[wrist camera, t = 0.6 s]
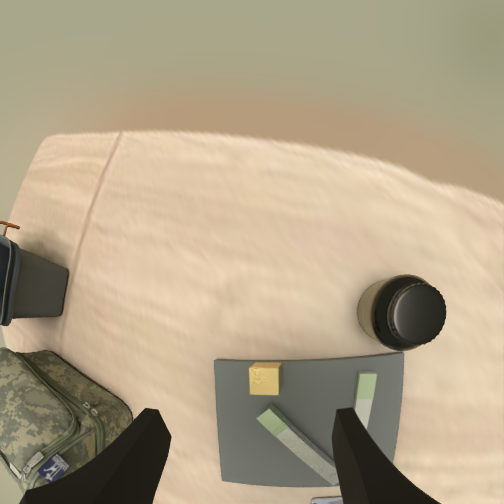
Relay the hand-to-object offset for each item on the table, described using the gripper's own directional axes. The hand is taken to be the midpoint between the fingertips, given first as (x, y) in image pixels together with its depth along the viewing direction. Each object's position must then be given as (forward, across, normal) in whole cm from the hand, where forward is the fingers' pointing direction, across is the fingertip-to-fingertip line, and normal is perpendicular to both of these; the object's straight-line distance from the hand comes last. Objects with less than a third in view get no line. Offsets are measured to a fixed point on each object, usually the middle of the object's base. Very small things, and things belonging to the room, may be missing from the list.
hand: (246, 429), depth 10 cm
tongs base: (+14, -4, +20) cm, 24 cm away
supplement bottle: (+20, -14, +7) cm, 25 cm away
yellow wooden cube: (+17, 0, +13) cm, 21 cm away
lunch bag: (+17, +32, +25) cm, 44 cm away
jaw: (+11, -4, +19) cm, 23 cm away
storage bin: (+30, +42, +4) cm, 51 cm away
